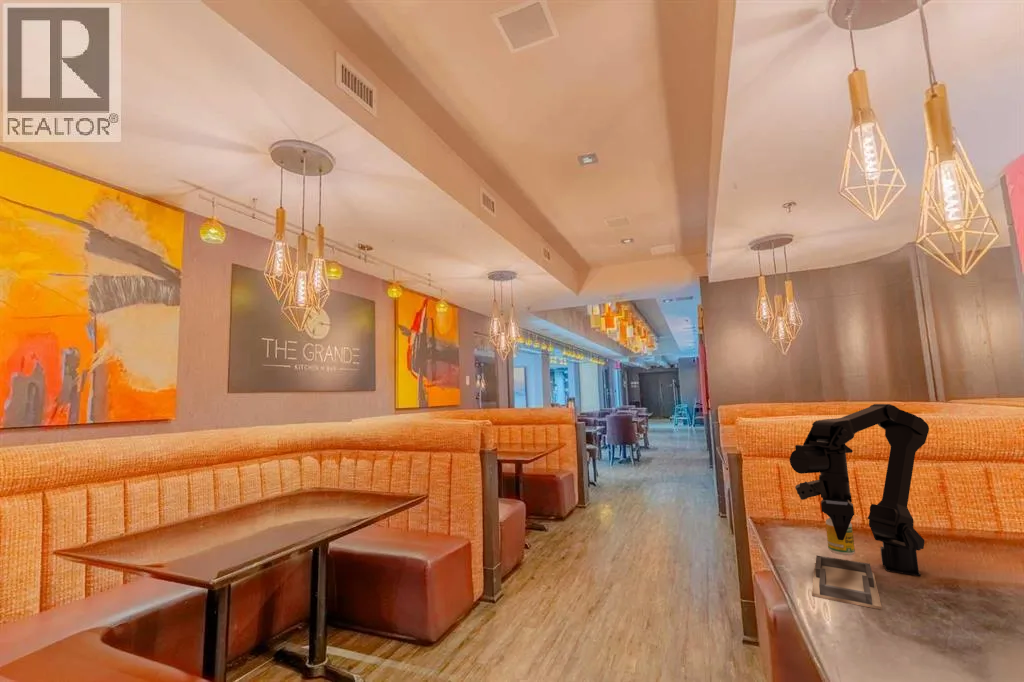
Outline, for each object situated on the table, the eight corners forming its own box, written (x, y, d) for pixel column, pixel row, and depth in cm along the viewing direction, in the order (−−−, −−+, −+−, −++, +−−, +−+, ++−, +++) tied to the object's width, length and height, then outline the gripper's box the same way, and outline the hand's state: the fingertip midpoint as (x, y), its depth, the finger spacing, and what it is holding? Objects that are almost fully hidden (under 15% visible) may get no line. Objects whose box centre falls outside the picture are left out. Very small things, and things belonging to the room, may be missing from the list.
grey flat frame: (873, 575, 111) (872, 564, 111) (881, 609, 93) (880, 596, 93) (815, 565, 118) (814, 554, 118) (812, 595, 100) (811, 583, 100)
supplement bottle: (834, 547, 114) (830, 507, 115) (859, 552, 110) (854, 511, 111) (824, 551, 111) (820, 510, 113) (849, 557, 107) (845, 515, 108)
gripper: (798, 464, 125) (803, 523, 123) (793, 474, 110) (799, 541, 108) (847, 467, 119) (854, 529, 117) (850, 478, 104) (858, 549, 102)
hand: (840, 536), depth 111 cm, fingers closed on supplement bottle, 5 cm apart
